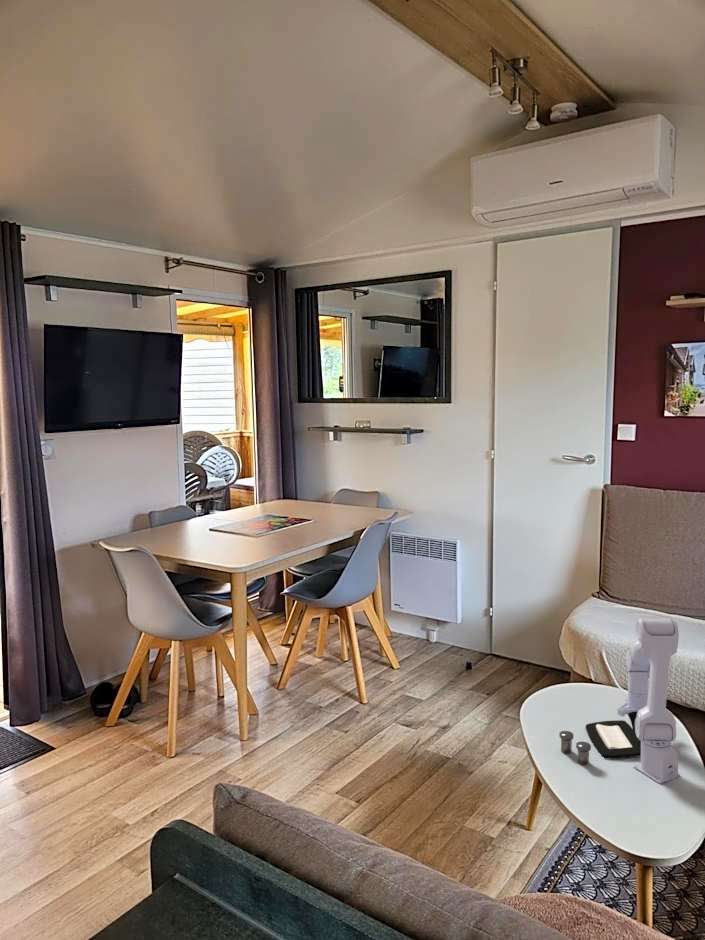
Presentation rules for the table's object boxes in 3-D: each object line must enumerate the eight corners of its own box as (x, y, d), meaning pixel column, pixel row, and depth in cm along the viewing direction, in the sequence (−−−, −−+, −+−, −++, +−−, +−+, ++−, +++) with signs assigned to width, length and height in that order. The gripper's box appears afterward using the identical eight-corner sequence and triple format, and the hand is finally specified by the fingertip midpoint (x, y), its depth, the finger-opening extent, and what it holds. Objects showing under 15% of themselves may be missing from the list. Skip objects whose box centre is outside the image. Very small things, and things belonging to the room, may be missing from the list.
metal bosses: (593, 764, 204) (593, 746, 203) (583, 767, 202) (583, 750, 202) (566, 746, 214) (566, 729, 213) (556, 749, 212) (556, 732, 211)
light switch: (581, 720, 225) (626, 715, 224) (582, 728, 226) (626, 724, 225) (601, 754, 206) (650, 749, 205) (602, 763, 206) (650, 758, 205)
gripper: (644, 680, 223) (643, 720, 225) (610, 690, 217) (609, 731, 219) (663, 688, 217) (662, 730, 219) (628, 700, 211) (627, 742, 213)
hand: (636, 731), depth 219 cm, fingers closed
